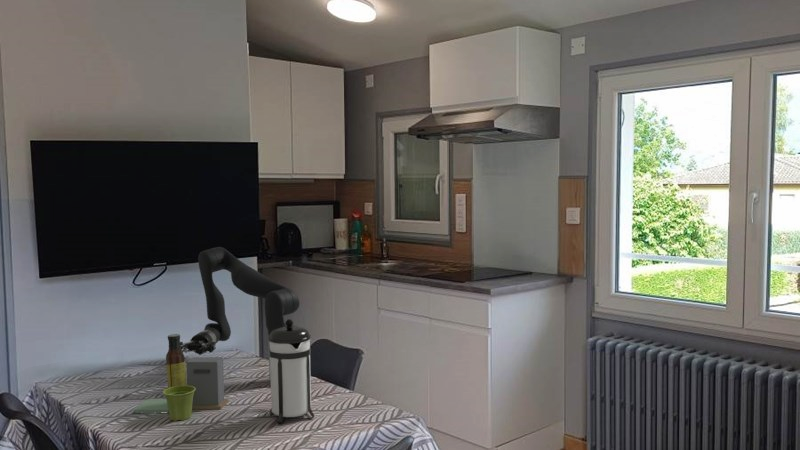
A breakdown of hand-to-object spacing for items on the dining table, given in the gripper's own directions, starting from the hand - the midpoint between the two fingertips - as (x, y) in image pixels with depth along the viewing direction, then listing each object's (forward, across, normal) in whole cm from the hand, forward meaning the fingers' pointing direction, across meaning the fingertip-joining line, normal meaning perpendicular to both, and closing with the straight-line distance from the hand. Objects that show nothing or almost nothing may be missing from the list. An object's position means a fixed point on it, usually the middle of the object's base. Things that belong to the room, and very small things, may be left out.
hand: (188, 352), depth 243 cm
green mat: (+27, 0, +11) cm, 29 cm away
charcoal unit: (+25, +15, +11) cm, 31 cm away
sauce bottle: (+11, 0, +11) cm, 16 cm away
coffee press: (+34, +44, +11) cm, 57 cm away
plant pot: (+37, +11, +11) cm, 40 cm away
